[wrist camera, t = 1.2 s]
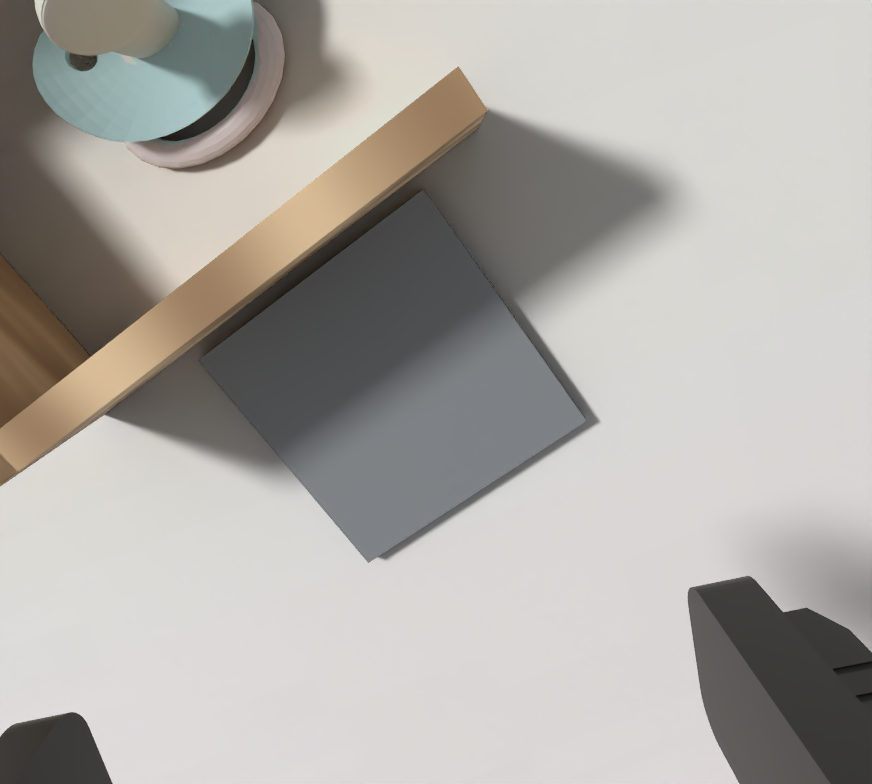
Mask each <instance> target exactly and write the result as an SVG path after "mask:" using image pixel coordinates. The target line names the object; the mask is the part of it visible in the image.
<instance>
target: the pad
mask: <svg viewBox="0 0 872 784" xmlns="http://www.w3.org/2000/svg"><path fill="white" fill-rule="evenodd" d="M198 361H199V362H200V363H201V364H202V366H203V367H204V368H205V369H206V370H207V372H208V373H209V374H210V375H211V376H212V377H213V379H214V380H215V381H216V382H217V383H218V385H219V386H220V387H221V388H222V389H223V391H224V392H225V393H226V394H227V395H228V397H229V398H230V399H231V400H232V401H233V402H234V404H235V405H236V406H237V407H238V408H239V410H240V411H241V412H242V413H243V414H244V416H245V417H246V418H247V419H248V420H249V421H250V423H251V424H252V425H253V426H254V427H255V429H256V430H257V431H258V432H259V433H260V435H261V436H262V437H263V438H264V439H265V441H266V442H267V443H268V444H269V445H270V446H271V448H272V449H273V450H274V451H275V452H276V454H277V455H278V456H279V457H280V458H281V460H282V461H283V462H284V463H285V464H286V465H287V467H288V468H289V469H290V470H291V471H292V473H293V474H294V475H295V476H296V477H297V479H298V480H299V481H300V482H301V483H302V485H303V486H304V487H305V488H306V489H307V490H308V492H309V493H310V494H311V495H312V496H313V498H314V499H315V500H316V501H317V502H318V504H319V505H320V506H321V507H322V508H323V509H324V511H325V512H326V513H327V514H328V515H329V517H330V518H331V519H332V520H333V521H334V523H335V524H336V525H337V526H338V527H339V528H340V530H341V531H342V532H343V533H344V534H345V536H346V537H347V538H348V539H349V540H350V542H351V543H352V544H353V545H354V546H355V548H356V549H357V550H358V551H359V552H360V553H361V555H362V556H363V557H364V558H365V559H366V561H367V562H368V563H369V562H371V561H372V560H374V559H375V558H377V557H378V556H380V555H381V554H383V553H384V552H386V551H387V550H389V549H391V548H392V547H394V546H395V545H397V544H398V543H400V542H401V541H403V540H404V539H406V538H408V537H409V536H411V535H412V534H414V533H415V532H417V531H418V530H420V529H421V528H423V527H424V526H426V525H428V524H429V523H431V522H432V521H434V520H435V519H437V518H438V517H440V516H441V515H443V514H444V513H446V512H448V511H449V510H451V509H452V508H454V507H455V506H457V505H458V504H460V503H461V502H463V501H465V500H466V499H468V498H469V497H471V496H472V495H474V494H475V493H477V492H478V491H480V490H481V489H483V488H485V487H486V486H488V485H489V484H491V483H492V482H494V481H495V480H497V479H498V478H500V477H501V476H503V475H505V474H506V473H508V472H509V471H511V470H512V469H514V468H515V467H517V466H518V465H520V464H521V463H523V462H525V461H526V460H528V459H529V458H531V457H532V456H534V455H535V454H537V453H538V452H540V451H542V450H543V449H545V448H546V447H548V446H549V445H551V444H552V443H554V442H555V441H557V440H558V439H560V438H562V437H563V436H565V435H566V434H568V433H569V432H571V431H572V430H574V429H575V428H577V427H578V426H580V425H582V424H583V423H585V422H586V419H585V418H584V416H583V414H582V413H581V412H580V410H579V409H578V407H577V406H576V404H575V403H574V402H573V400H572V399H571V397H570V396H569V394H568V393H567V392H566V390H565V389H564V387H563V386H562V385H561V383H560V382H559V380H558V379H557V377H556V376H555V375H554V373H553V372H552V370H551V369H550V368H549V366H548V365H547V363H546V362H545V360H544V359H543V358H542V356H541V355H540V353H539V352H538V351H537V349H536V348H535V346H534V345H533V343H532V342H531V341H530V339H529V338H528V336H527V335H526V333H525V332H524V331H523V329H522V328H521V326H520V325H519V324H518V322H517V321H516V319H515V318H514V316H513V315H512V314H511V312H510V311H509V309H508V308H507V307H506V305H505V304H504V302H503V301H502V299H501V298H500V297H499V295H498V294H497V292H496V291H495V290H494V288H493V287H492V285H491V284H490V282H489V281H488V280H487V278H486V277H485V275H484V274H483V273H482V271H481V270H480V268H479V267H478V265H477V264H476V263H475V261H474V260H473V258H472V257H471V255H470V254H469V253H468V251H467V250H466V248H465V247H464V246H463V244H462V243H461V241H460V240H459V238H458V237H457V236H456V234H455V233H454V231H453V230H452V229H451V227H450V226H449V224H448V223H447V221H446V220H445V219H444V217H443V216H442V214H441V213H440V212H439V210H438V209H437V207H436V206H435V204H434V203H433V202H432V200H431V199H430V197H429V196H428V194H427V193H426V192H425V190H424V189H423V190H422V191H420V192H419V193H418V194H416V195H415V196H414V197H413V198H411V199H410V200H409V201H407V202H406V203H405V204H403V205H402V206H401V207H399V208H398V209H397V210H395V211H394V212H393V213H391V214H390V215H389V216H387V217H386V218H385V219H384V220H382V221H381V222H380V223H378V224H377V225H376V226H374V227H373V228H372V229H370V230H369V231H368V232H366V233H365V234H364V235H362V236H361V237H360V238H359V239H357V240H356V241H355V242H353V243H352V244H351V245H349V246H348V247H347V248H345V249H344V250H343V251H341V252H340V253H339V254H337V255H336V256H335V257H333V258H332V259H331V260H330V261H328V262H327V263H326V264H324V265H323V266H322V267H320V268H319V269H318V270H316V271H315V272H314V273H312V274H311V275H310V276H308V277H307V278H306V279H305V280H303V281H302V282H301V283H299V284H298V285H297V286H295V287H294V288H293V289H291V290H290V291H289V292H287V293H286V294H285V295H283V296H282V297H281V298H280V299H278V300H277V301H276V302H274V303H273V304H272V305H270V306H269V307H268V308H266V309H265V310H264V311H262V312H261V313H260V314H258V315H257V316H256V317H254V318H253V319H252V320H251V321H249V322H248V323H247V324H245V325H244V326H243V327H241V328H240V329H239V330H237V331H236V332H235V333H233V334H232V335H231V336H229V337H228V338H227V339H226V340H224V341H223V342H222V343H220V344H219V345H218V346H216V347H215V348H214V349H212V350H211V351H210V352H208V353H207V354H206V355H204V356H203V357H202V358H200V359H199V360H198Z"/></svg>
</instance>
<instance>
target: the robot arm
mask: <svg viewBox="0 0 872 784" xmlns="http://www.w3.org/2000/svg"><path fill="white" fill-rule="evenodd" d="M688 606H689V613H690V620H691V627H692V634H693V641H694V648H695V655H696V662H697V669H698V676H699V682H700V689H701V695H702V699H703V703H704V707H705V710H706V714H707V717H708V720H709V723H710V726H711V728H712V731H713V733H714V736H715V738H716V740H717V742H718V744H719V746H720V748H721V750H722V752H723V754H724V756H725V758H726V759H727V761H728V763H729V765H730V767H731V769H732V770H733V772H734V774H735V776H736V778H737V780H738V782H739V783H740V784H872V652H871V651H870V650H869V649H868V648H867V647H866V646H865V645H864V644H863V643H862V642H861V641H860V640H859V639H858V638H857V637H856V636H855V635H854V634H853V633H852V632H851V631H850V630H849V629H847V628H845V627H843V626H841V625H839V624H837V623H835V622H833V621H832V620H830V619H828V618H826V617H824V616H822V615H820V614H818V613H816V612H814V611H812V610H810V609H808V608H803V609H798V610H793V611H789V612H784V613H783V612H782V611H781V609H780V608H779V607H778V606H777V605H776V604H775V603H774V601H773V600H772V599H771V598H770V597H769V596H768V594H767V593H766V592H765V591H764V590H763V589H762V588H761V586H760V585H759V584H758V583H757V582H756V581H755V580H754V579H753V578H752V577H750V576H746V577H741V578H736V579H731V580H726V581H721V582H716V583H711V584H706V585H701V586H697V587H692V588H690V589H689V591H688ZM0 784H112V782H111V779H110V777H109V774H108V772H107V770H106V767H105V765H104V762H103V760H102V758H101V755H100V753H99V750H98V748H97V746H96V743H95V741H94V738H93V736H92V734H91V731H90V729H89V727H88V725H87V723H86V721H85V720H84V718H83V717H82V716H80V715H79V714H77V713H73V712H71V713H66V714H61V715H56V716H51V717H46V718H41V719H36V720H32V721H27V722H22V723H17V724H14V725H12V726H11V727H9V728H8V729H7V730H6V731H5V732H4V733H3V734H2V735H1V737H0Z"/></svg>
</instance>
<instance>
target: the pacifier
mask: <svg viewBox="0 0 872 784" xmlns="http://www.w3.org/2000/svg"><path fill="white" fill-rule="evenodd" d="M34 1H35V9H36V13H37V16H38V19H39V22H40V24H41V26H42V28H43V32H42V33H41V35H40V36H39V38H38V41H37V44H36V46H35V49H34V55H33V62H32V67H33V77H34V80H35V82H36V85H37V88H38V91H39V92H40V94H41V95H42V97H43V99H44V100H45V102H46V103H47V104H48V105H49V106H50V107H51V108H52V110H53V111H54V112H55V113H56V114H57V115H59V116H60V117H61V118H62V119H64V120H65V121H66V122H67V123H69V124H71V125H73V126H74V127H76V128H78V129H80V130H81V131H84V132H87V133H90V134H92V135H94V136H96V137H99V138H103V139H107V140H110V141H120V142H124V143H125V145H126V147H127V148H128V150H130V151H131V152H132V153H133V154H134V155H136V156H137V157H138V158H139V159H140V160H142V161H144V162H147V163H149V164H152V165H155V166H157V167H162V168H179V169H180V168H185V167H190V166H195V165H200V164H203V163H205V162H207V161H210V160H212V159H214V158H216V157H219V156H221V155H223V154H224V153H226V152H227V151H229V150H230V149H231V148H233V147H234V146H235V145H237V144H238V143H240V142H241V141H242V140H244V138H245V137H246V136H247V135H248V134H249V133H250V132H251V131H252V130H253V129H254V128H255V127H256V126H257V125H258V124H259V122H260V121H261V120H262V118H263V117H264V115H265V113H266V112H267V110H268V109H269V107H270V105H271V104H272V102H273V101H274V98H275V96H276V93H277V90H278V88H279V85H280V82H281V80H282V75H283V67H284V59H285V51H284V45H283V38H282V33H281V31H280V29H279V27H278V25H277V23H276V22H275V20H274V18H273V16H272V15H271V14H270V13H269V12H268V11H267V10H265V9H264V8H263V7H262V6H261V5H260V4H259V3H257V2H254V1H253V0H34ZM252 39H253V41H254V48H255V64H254V71H253V74H252V77H251V80H250V82H249V85H248V87H247V90H246V91H245V93H244V95H243V96H242V98H241V99H240V101H239V102H238V104H237V105H236V106H235V108H234V109H233V110H232V111H231V112H230V113H229V114H228V115H227V116H226V117H225V118H224V119H223V120H222V121H220V122H219V123H218V124H216V125H215V126H214V127H212V128H211V129H210V130H208V131H206V132H203V133H201V134H199V135H197V136H195V137H193V138H189V139H184V140H180V141H167V140H164V139H161V138H159V137H163V136H166V135H169V134H172V133H174V132H177V131H179V130H181V129H183V128H185V127H187V126H189V125H190V124H192V123H194V122H196V121H197V120H198V119H200V118H201V117H202V116H204V115H205V114H206V113H207V112H209V111H210V110H211V109H212V108H213V107H214V106H215V105H216V104H217V103H218V102H219V101H220V100H221V99H222V98H223V97H224V96H225V95H226V94H227V92H228V91H229V90H230V88H231V87H232V85H233V84H234V82H235V81H236V79H237V77H238V76H239V74H240V72H241V71H242V68H243V66H244V63H245V61H246V58H247V56H248V53H249V50H250V46H251V41H252ZM70 53H73V54H77V55H86V56H91V55H97V63H96V65H95V66H94V67H93V68H92V69H90V70H88V71H79V70H77V69H76V68H75V67H73V65H72V64H71V62H70Z"/></svg>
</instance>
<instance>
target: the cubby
mask: <svg viewBox="0 0 872 784" xmlns="http://www.w3.org/2000/svg"><path fill="white" fill-rule="evenodd" d="M487 111H488V110H487V109H486V107H485V106H484V104H483V103H482V101H481V100H480V98H479V97H478V95H477V94H476V92H475V91H474V89H473V87H472V86H471V84H470V83H469V81H468V80H467V78H466V77H465V75H464V74H463V72H462V71H461V69H460V68H459V66H458V67H457V68H456V69H454V70H453V71H452V72H451V73H449V74H448V75H447V76H446V77H444V78H443V79H442V80H440V81H439V82H438V83H437V84H435V85H434V86H433V87H432V88H430V89H429V90H428V91H427V92H425V93H424V94H423V95H421V96H420V97H419V98H418V99H416V100H415V101H414V102H413V103H411V104H410V105H409V106H408V107H406V108H405V109H404V110H402V111H401V112H400V113H399V114H397V115H396V116H395V117H394V118H392V119H391V120H390V121H389V122H387V123H386V124H385V125H384V126H382V127H381V128H380V129H378V130H377V131H376V132H375V133H373V134H372V135H371V136H370V137H368V138H367V139H366V140H365V141H363V142H362V143H361V144H359V145H358V146H357V147H356V148H354V149H353V150H352V151H351V152H349V153H348V154H347V155H346V156H344V157H343V158H342V159H341V160H339V161H338V162H337V163H335V164H334V165H333V166H332V167H330V168H329V169H328V170H327V171H325V172H324V173H323V174H322V175H320V176H319V177H318V178H316V179H315V180H314V181H313V182H311V183H310V184H309V185H308V186H306V187H305V188H304V189H303V190H301V191H300V192H299V193H297V194H296V195H295V196H294V197H292V198H291V199H290V200H289V201H287V202H286V203H285V204H284V205H282V206H281V207H280V208H279V209H277V210H276V211H275V212H273V213H272V214H271V215H270V216H268V217H267V218H266V219H265V220H263V221H262V222H261V223H260V224H258V225H257V226H256V227H254V228H253V229H252V230H251V231H249V232H248V233H247V234H246V235H244V236H243V237H242V238H241V239H239V240H238V241H237V242H236V243H234V244H233V245H232V246H230V247H229V248H228V249H227V250H225V251H224V252H223V253H222V254H220V255H219V256H218V257H217V258H215V259H214V260H213V261H211V262H210V263H209V264H208V265H206V266H205V267H204V268H203V269H201V270H200V271H199V272H198V273H196V274H195V275H194V276H192V277H191V278H190V279H189V280H187V281H186V282H185V283H184V284H182V285H181V286H180V287H179V288H177V289H176V290H175V291H174V292H172V293H171V294H170V295H168V296H167V297H166V298H165V299H163V300H162V301H161V302H160V303H158V304H157V305H156V306H155V307H153V308H152V309H151V310H149V311H148V312H147V313H146V314H144V315H143V316H142V317H141V318H139V319H138V320H137V321H136V322H134V323H133V324H132V325H130V326H129V327H128V328H127V329H125V330H124V331H123V332H122V333H120V334H119V335H118V336H117V337H115V338H114V339H113V340H112V341H110V342H109V343H108V344H106V345H105V346H104V347H103V348H101V349H100V350H99V351H98V352H96V353H95V354H94V355H93V356H90V355H89V354H88V353H87V352H86V351H85V350H84V348H83V347H82V346H81V345H80V344H79V343H78V342H77V340H76V339H75V338H74V337H73V336H72V335H71V334H70V333H69V331H68V330H67V329H66V328H65V327H64V326H63V325H62V323H61V322H60V321H59V320H58V319H57V318H56V317H55V316H54V314H53V313H52V312H51V311H50V310H49V309H48V308H47V306H46V305H45V304H44V303H43V302H42V301H41V300H40V298H39V297H38V296H37V295H36V294H35V293H34V292H33V291H32V289H31V288H30V287H29V286H28V285H27V284H26V283H25V281H24V280H23V279H22V278H21V277H20V276H19V275H18V274H17V272H16V271H15V270H14V269H13V268H12V267H11V266H10V264H9V263H8V262H7V261H6V260H5V259H4V258H3V257H2V255H1V254H0V486H2V485H3V484H4V483H6V482H7V481H9V480H10V479H12V478H13V477H15V476H16V475H17V474H19V473H20V472H22V471H23V470H25V469H26V468H28V467H29V466H31V465H32V464H33V463H35V462H36V461H38V460H39V459H41V458H42V457H44V456H45V455H46V454H48V453H49V452H51V451H52V450H54V449H55V448H57V447H58V446H60V445H61V444H62V443H64V442H65V441H67V440H68V439H70V438H71V437H73V436H74V435H75V434H77V433H78V432H80V431H81V430H83V429H84V428H86V427H87V426H89V425H90V424H91V423H93V422H94V421H96V420H97V419H99V418H100V417H102V416H103V415H104V414H106V413H107V412H108V411H110V410H111V409H112V408H114V407H115V406H116V405H117V404H119V403H120V402H121V401H123V400H124V399H125V398H127V397H128V396H129V395H131V394H132V393H133V392H134V391H136V390H137V389H138V388H140V387H141V386H142V385H144V384H145V383H146V382H147V381H149V380H150V379H151V378H153V377H154V376H155V375H157V374H158V373H159V372H161V371H162V370H163V369H164V368H166V367H167V366H168V365H170V364H171V363H172V362H174V361H175V360H176V359H178V358H179V357H180V356H181V355H183V354H184V353H185V352H187V351H188V350H189V349H191V348H192V347H193V346H195V345H196V344H197V343H198V342H200V341H201V340H202V339H204V338H205V337H206V336H208V335H209V334H210V333H211V332H213V331H214V330H215V329H217V328H218V327H219V326H221V325H222V324H223V323H225V322H226V321H227V320H228V319H230V318H231V317H232V316H234V315H235V314H236V313H238V312H239V311H240V310H242V309H243V308H244V307H245V306H247V305H248V304H249V303H251V302H252V301H253V300H255V299H256V298H257V297H259V296H260V295H261V294H262V293H264V292H265V291H266V290H268V289H269V288H270V287H272V286H273V285H274V284H275V283H277V282H278V281H279V280H281V279H282V278H283V277H285V276H286V275H287V274H289V273H290V272H291V271H292V270H294V269H295V268H296V267H298V266H299V265H300V264H302V263H303V262H304V261H306V260H307V259H308V258H309V257H311V256H312V255H313V254H315V253H316V252H317V251H319V250H320V249H321V248H323V247H324V246H325V245H326V244H328V243H329V242H330V241H332V240H333V239H334V238H336V237H337V236H338V235H339V234H341V233H342V232H343V231H345V230H346V229H347V228H349V227H350V226H351V225H353V224H354V223H355V222H356V221H358V220H359V219H360V218H362V217H363V216H364V215H366V214H367V213H368V212H370V211H371V210H372V209H373V208H375V207H376V206H377V205H379V204H380V203H381V202H383V201H384V200H385V199H387V198H388V197H389V196H390V195H392V194H393V193H394V192H396V191H397V190H398V189H400V188H401V187H402V186H404V185H405V184H406V183H407V182H409V181H410V180H411V179H413V178H414V177H415V176H417V175H418V174H419V173H420V172H422V171H423V170H424V169H426V168H427V167H428V166H430V165H431V164H432V163H434V162H435V161H436V160H437V159H439V158H440V157H441V156H443V155H444V154H445V153H447V152H448V151H449V150H451V149H452V148H453V147H454V146H456V145H457V144H458V143H460V142H461V141H462V140H464V139H465V138H466V137H468V136H469V135H470V134H471V133H473V132H474V131H475V130H477V129H478V128H479V126H480V124H481V122H482V120H483V118H484V117H485V115H486V113H487Z"/></svg>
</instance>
